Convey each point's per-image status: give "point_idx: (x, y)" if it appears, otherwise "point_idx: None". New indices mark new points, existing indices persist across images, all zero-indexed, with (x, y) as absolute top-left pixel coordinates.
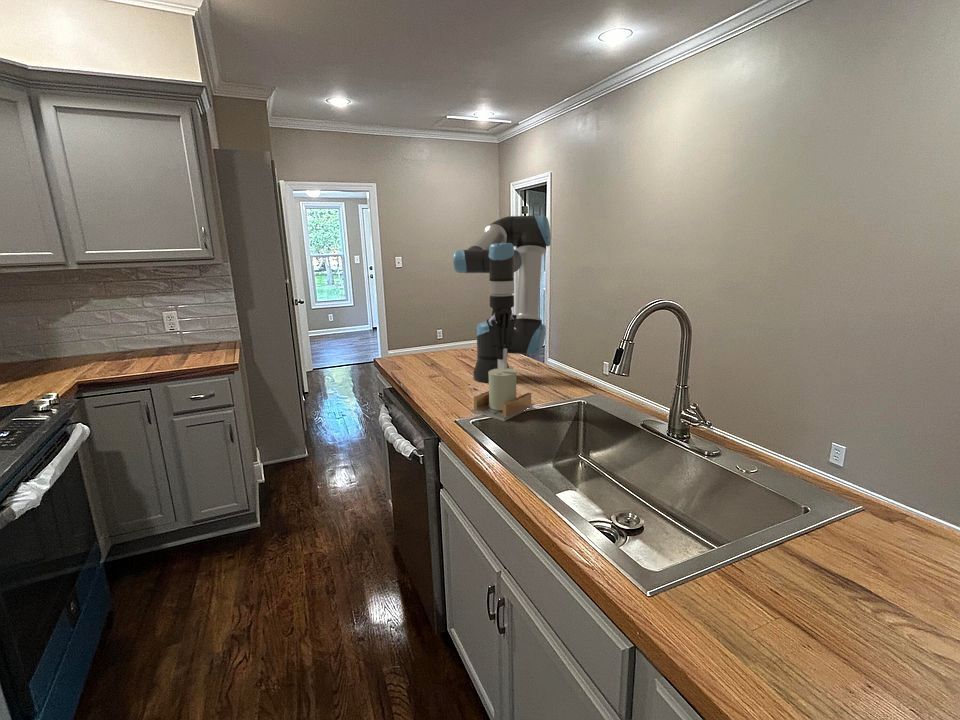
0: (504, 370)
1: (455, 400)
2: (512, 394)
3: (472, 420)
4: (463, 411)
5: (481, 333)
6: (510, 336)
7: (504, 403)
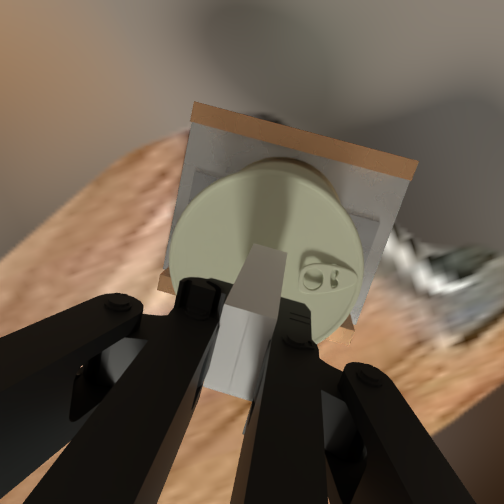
0: (218, 270)
1: (245, 419)
2: (304, 169)
3: (438, 285)
4: (351, 352)
5: None
6: (64, 360)
7: (400, 176)
